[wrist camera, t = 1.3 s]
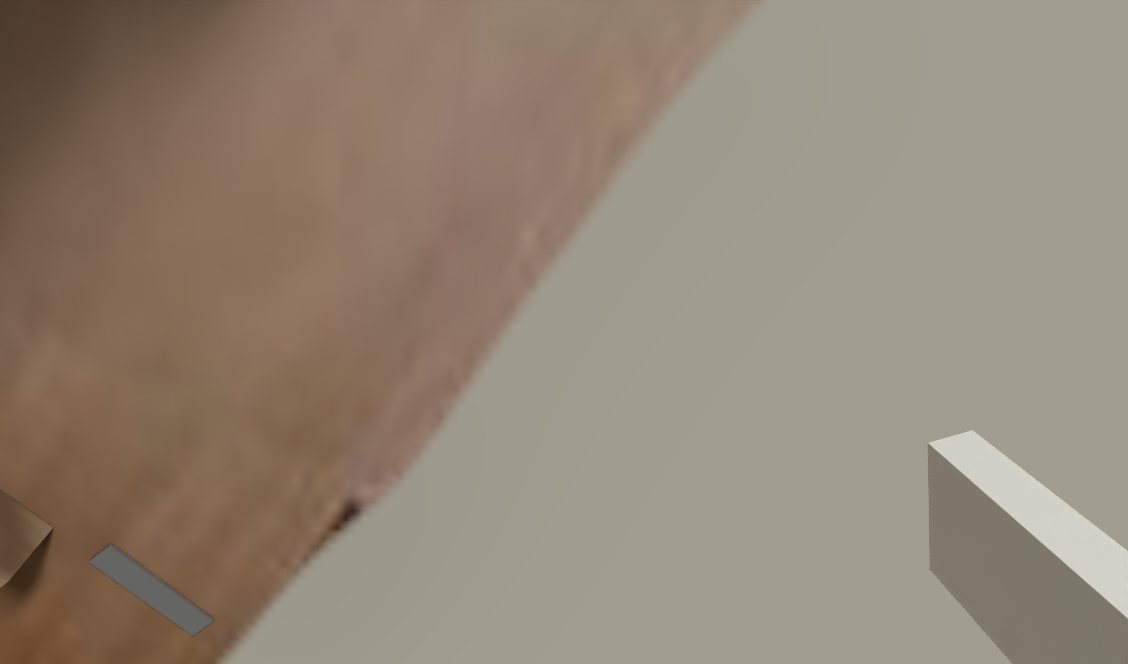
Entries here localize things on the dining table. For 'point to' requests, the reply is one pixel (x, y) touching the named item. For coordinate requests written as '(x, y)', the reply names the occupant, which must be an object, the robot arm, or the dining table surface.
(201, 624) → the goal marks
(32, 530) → the wooden bar frame
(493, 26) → the dining table surface
